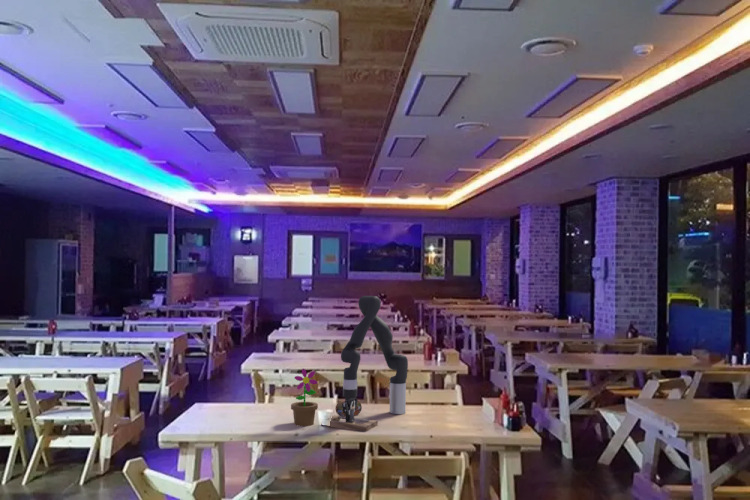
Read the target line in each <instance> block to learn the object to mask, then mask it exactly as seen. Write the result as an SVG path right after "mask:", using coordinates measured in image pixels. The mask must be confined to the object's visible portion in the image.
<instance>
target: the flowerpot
mask: <svg viewBox="0 0 750 500" xmlns="http://www.w3.org/2000/svg"><path fill="white" fill-rule="evenodd" d="M315 374H316V371H315V370H312V371H310V373H308V374H307V370H306V368H302V369H301V375H302V376H299V375H296V376H294V379H295V380H296V381H299V384H298V385H297V386H296V387H297V390H301V389H302V388H303V395H298V396H296V397H295V400H298V401H297V402H293V403H291V404H290V409H291V410H292V411H293V412H292V413H293V414H292V415H293V422H294V425H295V426H297V425H298V426H297V427H311V426H314V424H315V417H316V415H315V414H316V411H317V410H318V409H319V407H318V406H319V404H318V403H317V402H314V401H306V395H308V396H312V395H315V394H316V393H317V391H315V390H314V389H311V385H318V383H319V382H318V381H317V380H316V379H312V378H313V377H314V376H315ZM310 384H311V385H310ZM302 400H303V401H302Z"/></svg>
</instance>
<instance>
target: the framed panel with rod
mask: <svg viewBox="0 0 750 500" xmlns="http://www.w3.org/2000/svg"><path fill="white" fill-rule="evenodd" d="M341 420H346V416H343V417H342V416H340V415H335V414H334V415H332V418H331V421H330V426H331V428H337V429H345V430H351V431H352V430H353V431H360V432H368V431H370V430H372V429H374V428H375V427H377V426H378V425H379V423H378V422H379V421H378V420H377V419H376V420H375V419H371V420H370V419H363V418H356V417H354V422H355V421H356V422H362V424H361V423H347V422H346V421H341Z"/></svg>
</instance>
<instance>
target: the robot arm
mask: <svg viewBox="0 0 750 500" xmlns="http://www.w3.org/2000/svg"><path fill="white" fill-rule="evenodd" d="M381 304H382V303H381V299H380V297H378V296H376V295H363V296H361V297H360V298H359V300H358V308H359V311H360V312H361V313H362V315H363V318H362V320H361V321H360V322H359V323H358V324H357V325H356V326H355V328H354V329H353V331H352V333H351V336H350V339H349V341H348V342H347V344H346V345H345V346H344V348H343V349H342V351H341V353H340V359H341V361H342V362H343V363H346V364H350V365H349V367H345V368H344V369H343V383H342V386H343V387H342V397H343V398H344V401H345V403H342V407H343V413H345V414H346V416H345V417H346V419H345V422H346V421H350V410H351V408H352V407H355V409H354V412H355V410H356V408H357V401H359V399H358V398H357V397H358V370H359V369H358V368H359V366H360V362H361V353H360V352H359V350H357V349H360V348H361V347H362V346H363V343H364V341H365V337H366V336H367V333H368V331H369V328H370V329H371V330H372V333H373V335H374V337H375V339H376V342H377V343H378V346H379V347H380V350H381V352H382V354H383V357H384V359H385V363H386V366H387V367H388V369H390V370H391V371H392V370H393V371H396V372H395V375H394V376H391V377H390V378H389V413H390V414H391V415H403V414H406V413H407V411H406V409H407V408H406V407H407V406H406V405H407V404H406V401H407V400H406V399H407V398H406V396H407V395H406V394H407V378H408V369H409V362H408V361H409V360H408V357H407V356H406V355H404V354H397V353H396V352H395V351H394V348H393V347H392V343H393V333H392V331H391V329H390V327H389V326H388V324H387V322H385V321H384V320H383V319H382V318H381V317H379V316H378V315H377V314H378V313H379V310H380V309H381ZM348 407H349V408H348ZM348 410H349V411H348Z"/></svg>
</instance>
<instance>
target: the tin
mask: <svg viewBox="0 0 750 500" xmlns="http://www.w3.org/2000/svg"><path fill="white" fill-rule="evenodd" d="M342 403H345V400H341V401H338V402H337V403H336V405H335V412H336V414H337V416H340V417H346V414H345V413H343V407H342ZM362 407H363V406H362V403H361V402H360V401H359V400H358V401H357V408H356V410H355V412H354V416H358V415H359V414H361V411H362Z"/></svg>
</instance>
